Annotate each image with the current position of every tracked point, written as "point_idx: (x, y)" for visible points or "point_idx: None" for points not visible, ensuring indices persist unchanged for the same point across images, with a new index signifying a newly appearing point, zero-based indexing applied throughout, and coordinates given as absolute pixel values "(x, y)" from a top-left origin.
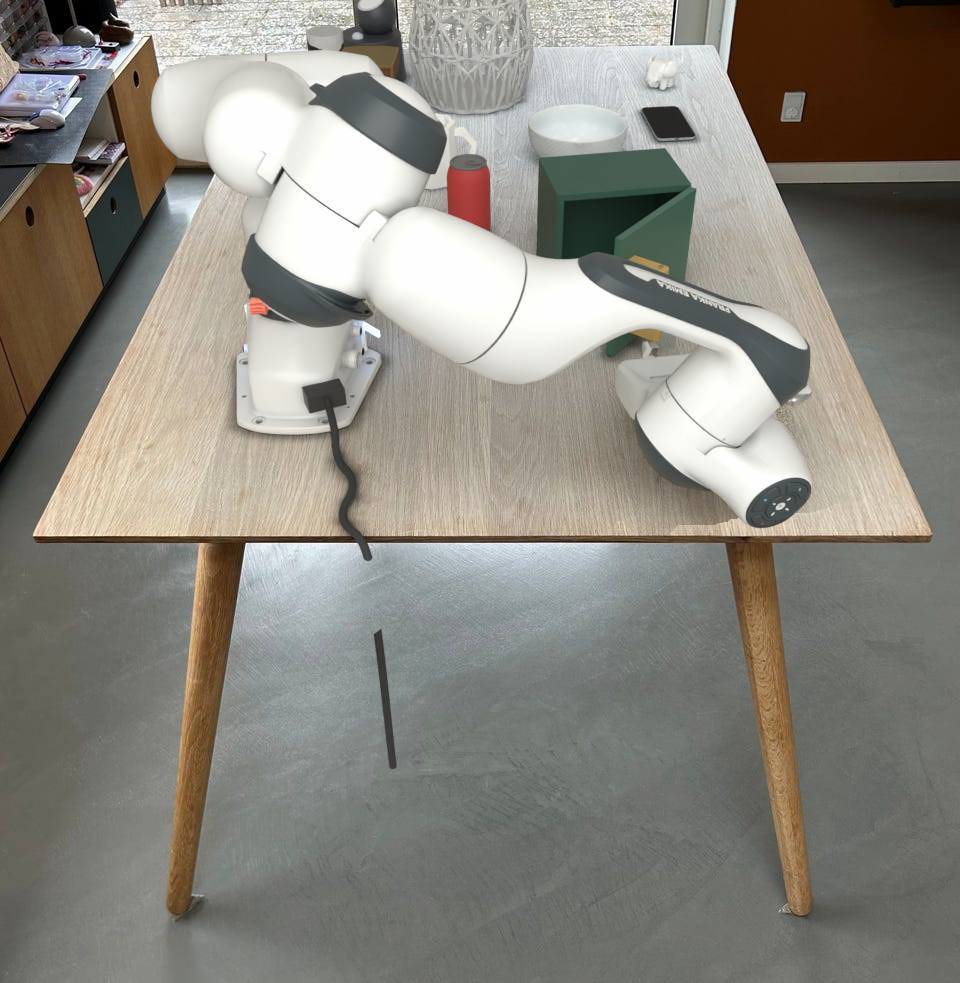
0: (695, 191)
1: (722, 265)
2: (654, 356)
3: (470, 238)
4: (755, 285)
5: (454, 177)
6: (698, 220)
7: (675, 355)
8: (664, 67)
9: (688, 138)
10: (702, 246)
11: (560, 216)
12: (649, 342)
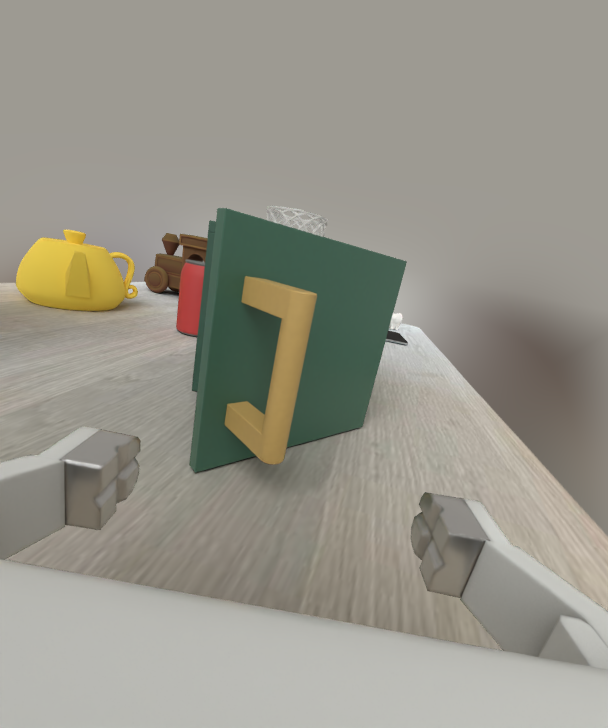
0: (404, 264)
1: (420, 409)
2: (80, 508)
3: None
4: (461, 437)
5: (183, 269)
6: (401, 375)
7: (8, 574)
8: (394, 315)
9: (402, 343)
10: (401, 390)
11: (211, 255)
12: (99, 435)
